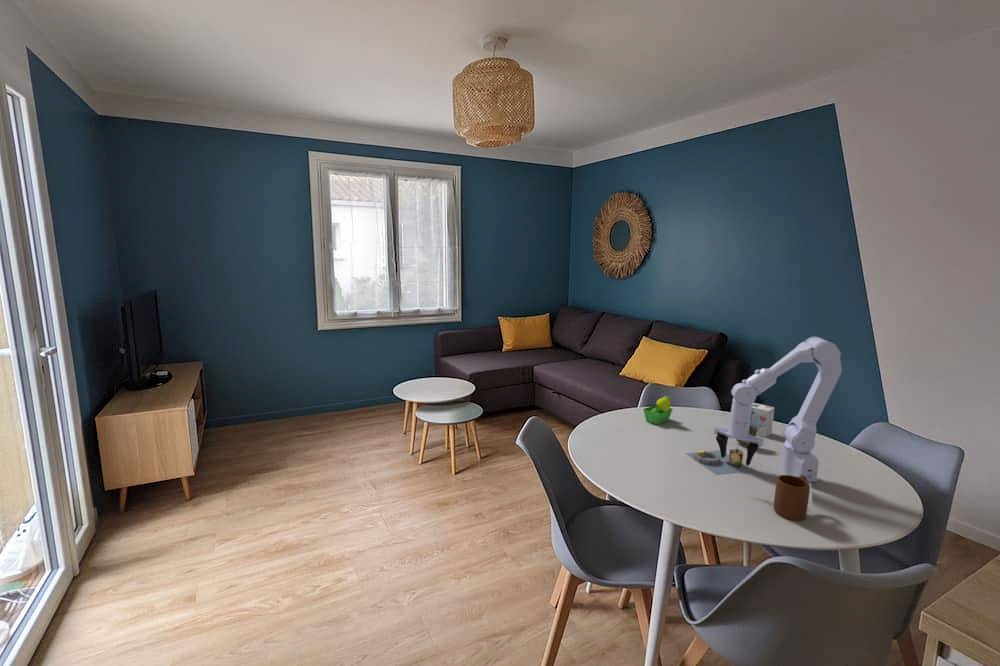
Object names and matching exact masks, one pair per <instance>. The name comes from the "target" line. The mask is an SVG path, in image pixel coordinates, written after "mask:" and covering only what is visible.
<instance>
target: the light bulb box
mask: <svg viewBox="0 0 1000 666" xmlns="http://www.w3.org/2000/svg"><path fill="white" fill-rule="evenodd" d="M751 409H752V410H751V418H750V425H751V426H752V425H753V427H755V426H756V427H757V428H758V429H757V433H756V436H759V437H762V438H767V437H768V436H770V435H772V433H773V425H774V416H775V407H773V406H769V405H766V404H762V403H761V404H760V403H757V402H753V403H752V407H751Z"/></svg>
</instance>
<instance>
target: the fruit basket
mask: <svg viewBox="0 0 1000 666" xmlns="http://www.w3.org/2000/svg"><path fill="white" fill-rule="evenodd" d="M673 410H674V408H671V397H670V396H663V397H662V398H659V399H658V400H657V401H656V403H655V405H651V406H648V407H645V408H643V409H642V412H643V413H644V418H645V421H646V422H648V421H649V423H651V424H654V423H655V425H659V424H661V423H664V422H667V421H669V419H670V417H671V415H672V412H673Z"/></svg>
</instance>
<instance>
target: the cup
mask: <svg viewBox="0 0 1000 666" xmlns="http://www.w3.org/2000/svg"><path fill="white" fill-rule="evenodd" d="M757 429H758V428H757V427H756V426H755V427H753V425H752V426H751V425H750V427H749V434H750V435H753V436H755V437H757V435H756V433H757ZM735 441H737V442H738V443H737V444H738V445H739V446H742V447H747V445H749V444H750V443H748V442H744V441H741V440H737V439H735Z"/></svg>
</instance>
